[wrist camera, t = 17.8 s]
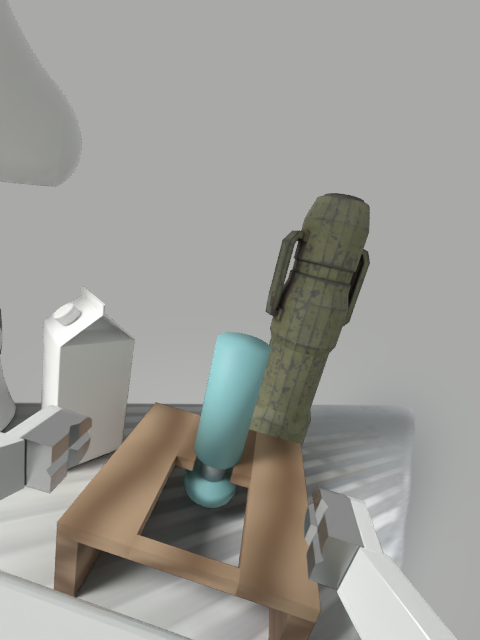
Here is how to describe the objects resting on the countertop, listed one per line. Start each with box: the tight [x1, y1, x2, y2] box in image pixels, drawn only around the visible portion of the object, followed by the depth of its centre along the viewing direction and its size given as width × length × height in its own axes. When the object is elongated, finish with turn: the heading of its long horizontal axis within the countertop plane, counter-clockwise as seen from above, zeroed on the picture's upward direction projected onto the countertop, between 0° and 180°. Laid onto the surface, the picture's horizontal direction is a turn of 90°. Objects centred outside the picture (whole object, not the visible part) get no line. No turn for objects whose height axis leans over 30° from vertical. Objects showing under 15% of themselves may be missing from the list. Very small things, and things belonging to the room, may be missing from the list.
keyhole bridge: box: [54, 403, 321, 640], centre depth 25 cm, size 18×15×7 cm
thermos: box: [249, 193, 370, 445], centre depth 35 cm, size 9×12×35 cm
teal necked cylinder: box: [184, 332, 271, 508], centre depth 26 cm, size 6×6×16 cm
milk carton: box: [41, 286, 135, 465], centre depth 30 cm, size 7×7×19 cm
